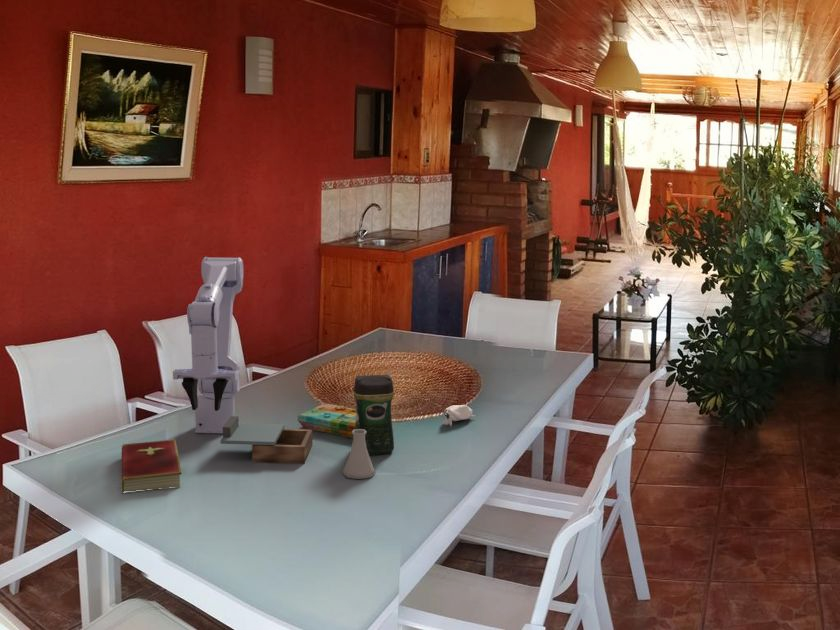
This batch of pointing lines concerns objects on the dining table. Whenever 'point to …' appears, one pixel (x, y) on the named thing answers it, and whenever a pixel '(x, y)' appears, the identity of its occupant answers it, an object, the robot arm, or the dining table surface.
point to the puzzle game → (330, 419)
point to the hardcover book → (150, 465)
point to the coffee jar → (375, 411)
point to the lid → (250, 433)
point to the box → (285, 448)
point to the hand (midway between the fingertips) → (206, 409)
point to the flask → (359, 458)
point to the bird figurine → (457, 413)
